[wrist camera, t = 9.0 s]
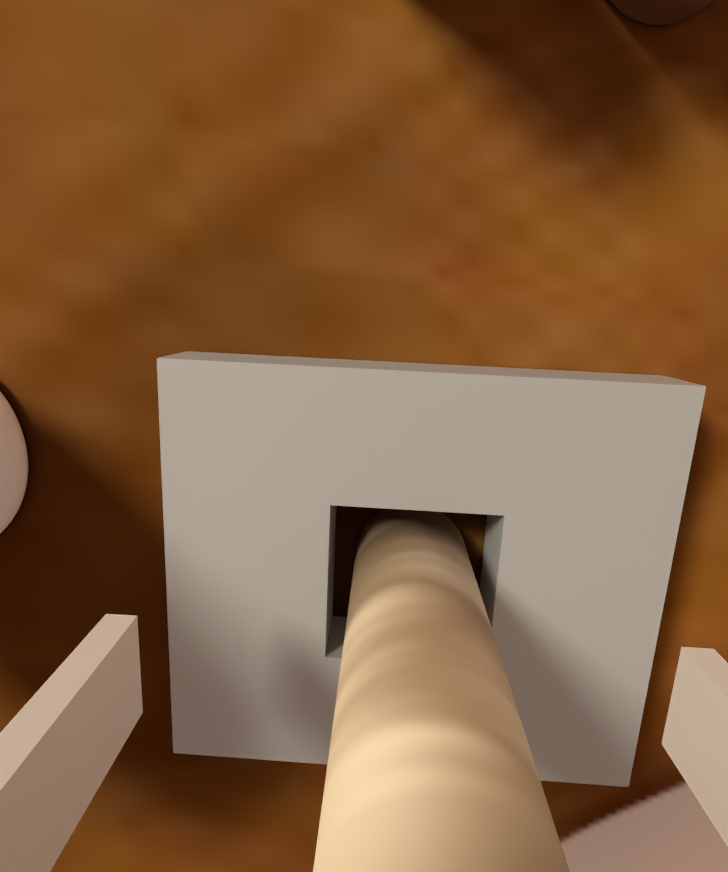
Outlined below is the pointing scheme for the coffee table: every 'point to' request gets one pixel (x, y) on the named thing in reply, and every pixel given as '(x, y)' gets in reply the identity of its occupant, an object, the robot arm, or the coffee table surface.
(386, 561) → the birch pin
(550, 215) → the coffee table surface
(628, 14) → the walnut pin
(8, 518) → the jar
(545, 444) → the hole plate
